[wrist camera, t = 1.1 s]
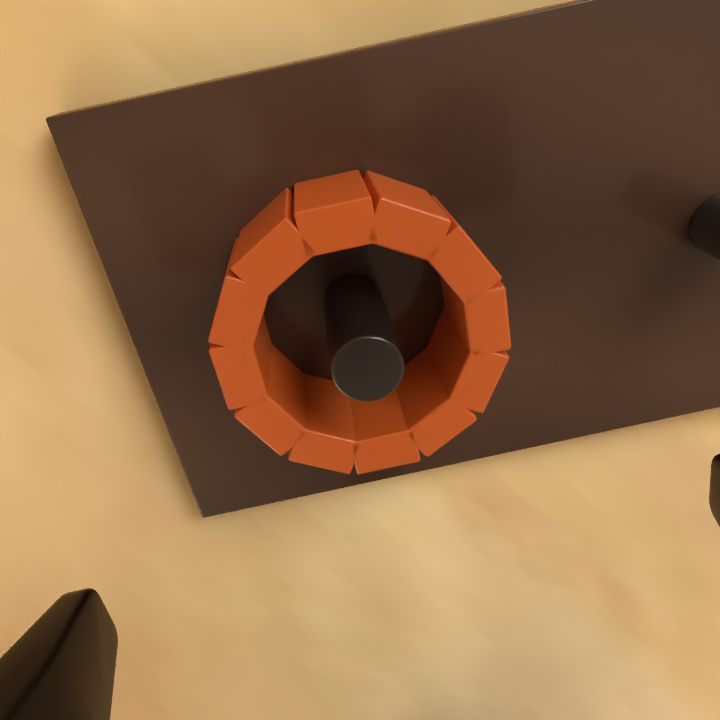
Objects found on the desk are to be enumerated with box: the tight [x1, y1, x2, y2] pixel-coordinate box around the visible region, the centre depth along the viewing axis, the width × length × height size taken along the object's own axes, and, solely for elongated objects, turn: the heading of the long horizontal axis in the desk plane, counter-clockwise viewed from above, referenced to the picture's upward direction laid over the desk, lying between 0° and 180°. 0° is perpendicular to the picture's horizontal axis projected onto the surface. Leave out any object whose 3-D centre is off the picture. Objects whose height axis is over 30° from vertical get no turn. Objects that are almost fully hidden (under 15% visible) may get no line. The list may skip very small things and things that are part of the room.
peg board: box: [46, 0, 720, 517], centre depth 16 cm, size 12×22×5 cm, turn 101°
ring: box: [208, 170, 511, 474], centre depth 16 cm, size 7×7×3 cm
